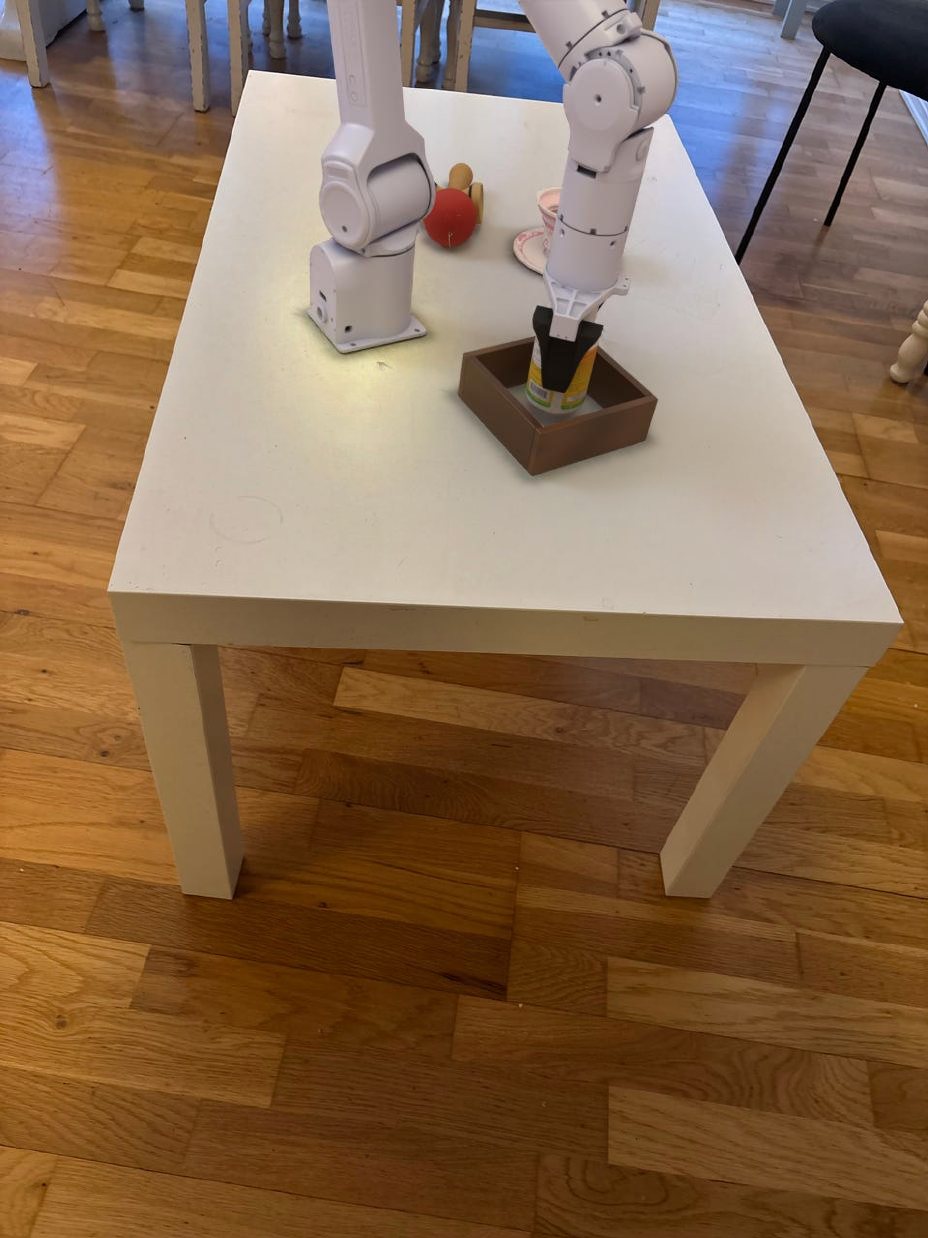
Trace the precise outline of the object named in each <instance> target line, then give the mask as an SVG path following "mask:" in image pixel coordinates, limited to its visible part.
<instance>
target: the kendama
mask: <svg viewBox="0 0 928 1238" xmlns="http://www.w3.org/2000/svg"><path fill="white" fill-rule="evenodd" d="M473 180H474V172H473V170H472V168H471V166H469V165H468V164H466V163H463V162H458V163H456V164H454V165H453V166H452V167H451V169H450V170H449V173H448V186H447V187H445V188H443V187H441V186H440V185H439V184H438V183H437V182H436V181H435V180H434V182H435V189H436V197H435V203H434V206H433V209H432V211H431V212H430V214H429V215H428V216H427V217H425V218H424V219H422V220H421V221H422V223H423V226H424V229H425V232H426V233H427V235H428V236H429V237H430V238H431V240H432V241H434V243H437V245H440V246H443V247H448V248H454V247H458V246H460V245H463V244H465V243H466V242H467V241H468V240H469V239H470V238H471V237H472V235H473V234H474V232H475V229H476V227H477V225H482V223H483V219H484V205H485V204H484V202H485V199H484V196H485V195H484V184H483V183H482V182H476V181H474V182H473Z"/></svg>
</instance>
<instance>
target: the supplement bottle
mask: <svg viewBox="0 0 928 1238" xmlns="http://www.w3.org/2000/svg"><path fill="white" fill-rule="evenodd" d="M549 302H550V301H549ZM548 308H552V305H551V302H550V303H549V306H548ZM598 308H599V306H598V307H597V308H595V309H594V310H593V311H592V312H590V313H589V314H588V315H587V316H585V317H584V318H583V320H584V321H588V322H593V323H596V319H597V317H598V313H599V311H598ZM552 309H553V308H552ZM535 336H536V335H535ZM599 342H600V338H599V339H598V341H597V342H596V343H595V344H594V345H593V346H592V347H591V348H590V349H589V350H588V351H587V353H586V354H585V356H584V357H583V359H582V360H581V362H580V364H579V366H578V368H577V371H576V373H575V375H574V378H573V380H572V382H571V384H570V386H569V388H568V389H567V391H566V392H565V393H560V392H556V391H552V390H548V389H543V388H542V381H541V354H540V347H539V342H538V339H537V336H536V337H535V343H534V348H533V354H532V359H531V364H530V369H529V375H528V380H527V383H526V386H525V396H526V398H527V400H528V401H529V403H530V404H531V405H532V406H533V407H534V408H536V409H538V410H540V411H541V412H544V413H547V414H551V415H552V414H553V415H566V414H567V415H568V414H571V413H574V412H576V411H578V410H579V409H581V407H582V406H583V405H584V402H585V400H586V395H587V393H586V392H587V388H588V384H589V380H590V376H591V372H592V367H593V363H594V359H595V356H596V352H597V347H598V346H599V344H600V343H599Z"/></svg>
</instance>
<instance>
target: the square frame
mask: <svg viewBox="0 0 928 1238" xmlns="http://www.w3.org/2000/svg"><path fill="white" fill-rule="evenodd" d="M535 337H536V335H533V336H529V337H524V338H520V339H516V340H513V341H507V342H505V343H504V342H503V343H500V344H496V345H491V346H488V347H483V348H479V349H475V350H471V351H470V350H469V351H466V352H463V353H462V358H461V365H460V375H459V382H458V391H457V396H458V397H459V398H460V399H461V400H462V402H463V403H464V404H465V405H466V407H468V408H469V409H470V411H472V413H473V414H474V415H475V416H476V417H477V418H478V419H479V420H480V421H481V423H482V424H483V425H484V426H485V427H486V428H487V429H488V430H489V431H490V432H491V433H492V434H493V435H494V437H495V438H496V439H497V440H498V441H499V442H500V443H501V444H502V446H504V447H505V448H506V450H507V451H508V452H509V453H510V454H511V455H512V457H514V458H515V459H516V460H517V462H518V463H519V464H520V465H521V466H522V467H523V468H524V469H525V470H526V471H527V472H528V474H530V476H536V475H539V474H542V473H545V472H548V471H552V470H556V469H559V468H561V467H564V466H568V465H571V464H575V463H578V462H580V461H584V460H587V459H590V458H593V457H596V456H597V457H598V456H600V455H603V454H605V453H606V454H607V453H609V452H612V451H613V452H614V451H616V450H618V449H622V448H625V447H628V446H632V445H635V444H638V443H641V442H644V441H646V439H647V436H648V433H649V431H650V427H651V424H652V421H653V418H654V414H655V411H656V409H657V405H658V402H659V398H658V397H657V396H655V394H653V393H652V392H651V390H649V389H648V388H647V387H646V386H644V384H642V383H641V382H640V381H639V380H638V379H636V377H634V376H633V375H632V374H631V373H630V372H629V371H627V369H625V368H624V367H623V366H622V365H621V364H620V363H618V362H617V360H615V359H614V358H613V357H612V356H610V354H609V353H607V352H606V351H605V350H604V349H603V348H602V347H601V346H599V345H598V347H597V352H596V356H595V359H594V363H593V367H592V372H591V376H590V380H589V384H588V388H587V392H586V395H587V394H588V396H589V397H590V398H591V399H593V401H595V402H596V404H598V405H599V406H600V407H601V409H598V410H595V411H592V412H587V413H585V414H582V415H577V416H575V417H571V418H568V419H564V420H560V421H557V422H554V423H550V424H547V425H543V424H541V423H542V422H540V421H539V420H538V419H537V418H536V417H535V416H534V415H533V414H532V413H531V412H530V411H529V410H528V409H527V408H526V407H525V406H524V404H522V403H521V402H520V401H519V400H518V399H517V398H516V396H514V394H512V392H511V391H509V388H511V387H515V386H519V385H523V384H527V380H528V375H529V369H530V364H531V359H532V354H533V348H534V343H535Z"/></svg>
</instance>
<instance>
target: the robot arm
mask: <svg viewBox="0 0 928 1238" xmlns="http://www.w3.org/2000/svg"><path fill="white" fill-rule="evenodd" d="M516 2H517V4H518V5H519V6H520V8H521V10H522V11H523V13H524V15H525V17H526V18H527V20H528V21H529V23H530V25H531V26H532V28H533V29H534V32H535V33H536V35H537V36H538V38H539V39H540V41H541V43H542V45H543V47H544V48H545V50H546V52H547V53H548V55H549V56H550V58H551V60H552V61H553V63H554V65H555V67H556V69H557V70H558V71H559V73H560V75H561V76H562V78H563V79H564V81H565V83H564V84H563V86H562V106H563V110H564V114H565V118H566V120H567V122H568V126H569V140H568V144H567V145H568V146H567V151H568V152H567V158H566V163H565V168H564V174H563V180H562V185H561V187H562V189H561V194H560V200H559V205H558V210H557V215H556V220H555V226H554V231H553V236H552V242H551V247H550V252H549V258H548V261H547V262H546V263H545V266H544V271H543V274H542V279H543V282H544V285H545V289H546V293H547V295H548V299H549V302H551V305H552V308H553V309H552V308H549V306H548V307H547V306H543V305H538V304H537V305H536V307H535V309H534V312H533V314H532V318H531V319H532V320H531V324H532V329H533V332H534V333H535V336H537V339H538V342H539V347H540V354H541V381H542V388H543V389H548V390H552V391H556V392H560V393H565V392H566V391H567V389H568V388H569V386H570V384H571V382H572V380H573V378H574V375H575V373H576V371H577V368H578V366H579V364H580V362H581V360H582V359H583V357H584V356H585V354H586V353H587V351H588V350H589V349H590V348H591V347H592V346H593V345H594V344H595V343H596V342H597V341H598V339H599V340H600V338H601V336H602V334H603V330H604V327H605V326H604V324H601V323H597V322H595V323H593V322H588V321H584V320H583V318H584V317H585V316H587V315H588V314H589V313H590V312H592V311H593V310H594V309H595V308H597V307H598V306H599V308H598V312H599V311H600V309H601V308H602V306H603V305H604V304H605V302H606V301H607V300H608V299H609V298H610V297H612V296H614V295H616V296H620V297H625V296H628V294H629V291H630V288H631V287H630V286H631V283H632V279H631V278H630V277H629V276H627V275H622V274H620V273H619V271H620V267H621V263H622V259H623V255H624V251H625V247H626V244H627V240H628V236H629V232H630V227H631V225H632V221H633V216H634V212H635V208H636V204H637V202H638V201H637V200H638V196H639V193H640V188H641V184H642V180H643V176H644V174H645V173H644V172H645V168H646V165H647V160H648V155H649V152H650V148H651V143H652V140H653V135H654V132H655V127H654V126H651V125H653V124H654V123H656V122H657V121H659V120H660V119H661V118H663V117H664V116H665V115H666V114H667V113H668V112H669V110H670V109H671V108H672V106H673V104H674V103H675V100H676V98H677V94H678V90H679V83H680V73H679V72H680V71H679V67H678V62H677V60H676V57H675V55H674V53H673V49H672V44H671V42H670V41H669V40H668V39H666V37H665V36H663V35H662V34H660V33H658V32H657V31H653V30H650V29H649V30H648V29H645V28H644V27H643V22H642V21H641V19H640V17H639V16H638V13H637V12H635V11H633V12H631V11H630V9H629V8H628V5H627V4H626V2H625V1H624V0H516ZM326 7H327V14H328V15H327V17H328V24H329V25H328V26H329V33H330V40H331V41H330V42H331V49H332V50H331V51H332V59H333V68H334V75H335V84H336V92H337V94H336V95H337V102H338V109H339V110H338V111H339V119H340V124H339V127H338V128H337V130H336V132H335V133H334V134H333V137H332V138H331V140H330V141H329V143H328V145H326V148H325V149H324V151H323V153H322V155H321V156H320V163H321V171H322V172H321V173H322V178H321V179H322V180H321V185H320V189H319V192H318V193H319V194H318V203H319V204H318V205H319V211H320V215H321V218H322V221H323V224H324V226H325V228H326V230H327V231H328V233H329V234H330V236H331V237H330V238H328V239H327V240H325V241H322V242H319V243H317V244H315V245H314V246H312V248H311V251H310V255H309V294H310V295H309V296H310V299H309V300H310V307H309V308H308V309H307V315H308V316H309V317H310V318H311V319H312V320H313V322H314V323H315V324H316V325H317V326H318V328H319V329H320V330H321V332H322V333H323V334H324V335H325V336H326V337H327V339H328V340H329V341H330V343H332V345H333V346H334V348H336V349H337V351H338V352H339V353H342V354H346V353H351V352H356V351H361V350H366V349H370V348H373V347H378V346H383V345H387V344H392V343H397V342H400V341H404V340H409V339H414V338H417V337H418V338H419V337H422V336H423V337H424V336H425V335H427V328H426V327H425V326H424V325H423V324H422V323H421V322H420V321H419V319H418V318H417V317H416V316H415V315H414V314H413V313H412V300H413V299H412V297H413V285H414V284H413V283H414V269H415V257H416V256H415V254H416V240H417V235H418V234H420V233H421V223H422V222H421V221H422V219H424V218H425V217H427V216H428V215H429V214H430V212H431V211H432V209H433V206H434V203H435V197H436V189H435V182H436V181H435V179H434V175H433V173H432V171H431V168H430V165H429V163H428V159H427V155H426V154H427V153H426V145H425V143H426V142H425V138H424V136H423V135H422V134H421V133H419V132H418V131H417V130H416V129H415V128H414V127H413V126H412V125H411V124H409V122H408V121H407V120H406V114H405V101H404V100H405V99H404V87H403V73H402V60H401V47H400V46H401V44H400V32H399V31H400V29H399V19H398V5H397V0H326ZM649 126H650V127H649ZM434 181H435V182H434Z"/></svg>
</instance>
